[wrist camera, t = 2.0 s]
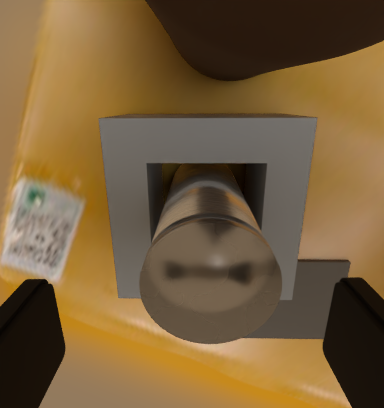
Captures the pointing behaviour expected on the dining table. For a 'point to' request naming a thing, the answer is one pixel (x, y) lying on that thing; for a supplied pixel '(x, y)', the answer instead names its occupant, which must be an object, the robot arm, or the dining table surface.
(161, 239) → the silver metallic cylinder
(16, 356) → the robot arm
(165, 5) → the olive oil
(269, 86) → the dining table surface
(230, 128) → the housing
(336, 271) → the mat
